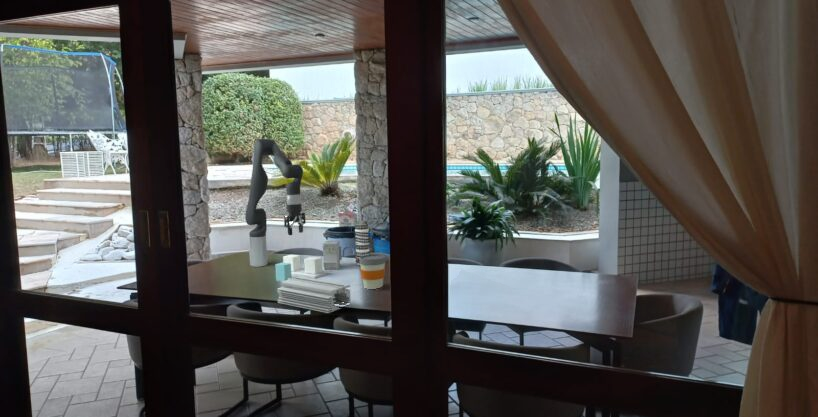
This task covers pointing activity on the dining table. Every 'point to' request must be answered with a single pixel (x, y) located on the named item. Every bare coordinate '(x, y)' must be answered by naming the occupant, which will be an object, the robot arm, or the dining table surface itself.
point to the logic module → (283, 271)
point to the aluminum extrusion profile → (313, 294)
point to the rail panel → (311, 266)
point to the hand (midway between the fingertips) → (295, 233)
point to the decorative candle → (361, 239)
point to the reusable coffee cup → (372, 270)
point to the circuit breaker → (331, 255)
